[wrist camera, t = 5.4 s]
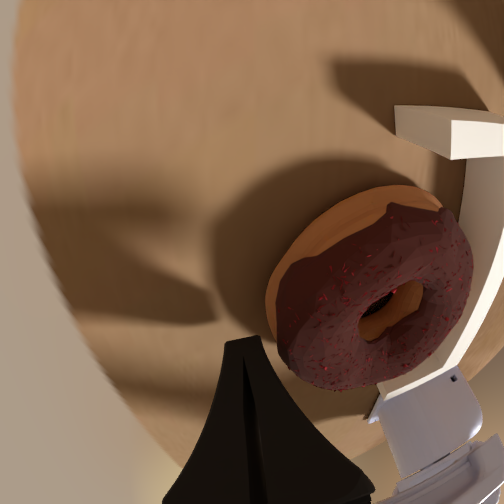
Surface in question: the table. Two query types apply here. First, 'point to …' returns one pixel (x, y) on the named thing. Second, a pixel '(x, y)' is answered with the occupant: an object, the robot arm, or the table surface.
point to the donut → (369, 288)
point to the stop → (462, 218)
